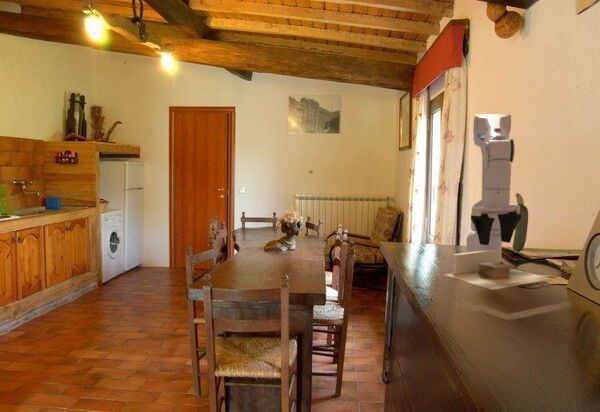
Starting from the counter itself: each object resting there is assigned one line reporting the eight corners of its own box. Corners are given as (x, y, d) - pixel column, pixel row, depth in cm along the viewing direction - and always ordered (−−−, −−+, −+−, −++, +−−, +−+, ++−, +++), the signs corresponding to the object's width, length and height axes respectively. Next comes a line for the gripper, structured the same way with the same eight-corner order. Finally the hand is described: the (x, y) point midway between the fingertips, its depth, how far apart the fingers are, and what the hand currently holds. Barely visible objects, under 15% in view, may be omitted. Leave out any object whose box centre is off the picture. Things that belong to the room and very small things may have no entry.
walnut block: (478, 275, 107) (478, 263, 107) (492, 273, 109) (493, 261, 109) (495, 279, 102) (495, 267, 102) (509, 277, 104) (509, 265, 104)
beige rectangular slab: (452, 273, 109) (453, 254, 108) (496, 266, 116) (496, 248, 115) (456, 274, 108) (456, 255, 107) (500, 267, 114) (500, 249, 114)
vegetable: (525, 253, 139) (528, 192, 137) (527, 255, 134) (530, 193, 133) (510, 252, 140) (512, 192, 138) (512, 254, 136) (515, 193, 134)
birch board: (443, 278, 108) (443, 274, 108) (500, 269, 117) (500, 265, 117) (491, 294, 94) (492, 289, 94) (552, 282, 103) (553, 278, 103)
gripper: (489, 190, 97) (487, 248, 98) (532, 188, 103) (529, 243, 104) (465, 189, 103) (464, 243, 105) (507, 187, 109) (504, 239, 111)
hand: (495, 243), depth 105 cm, fingers open, 7 cm apart
